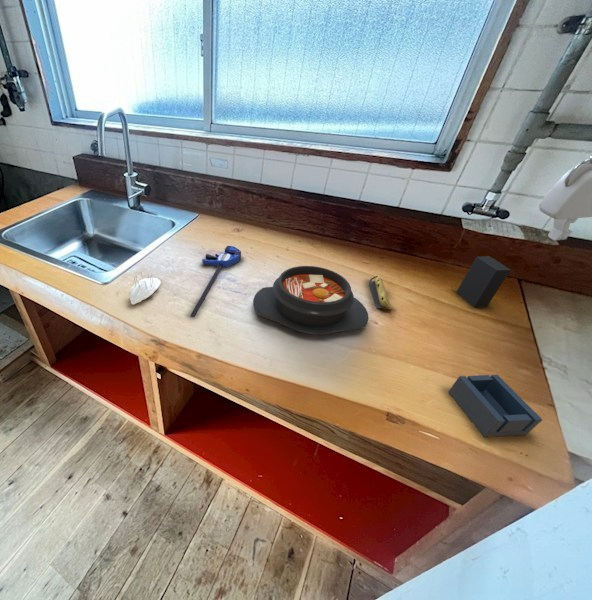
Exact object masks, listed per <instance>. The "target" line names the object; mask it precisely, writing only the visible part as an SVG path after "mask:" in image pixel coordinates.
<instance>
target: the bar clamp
mask: <svg viewBox="0 0 592 600" xmlns="http://www.w3.org/2000/svg"><path fill="white" fill-rule="evenodd" d="M241 260H242V250H240V249H239V248H237V247H235V246H234V245H227V246H226V247H225V248H224V252H220V254H217V253H215V255H211V254H208V253H206V254H205V258H202V260H201V262H202V263H201V264H203V265H209V266H216V267H217V268H216V269H215V272H214V273H213V275H212V276H211V278H210V279H209V282H208V283H207V285H206V287H205V288H204V291H202V294H201V296H200V297H199V299H198V301H197V303H196V305H195V306H194V308H193V310H192V312H191V313H190V316H191V317H195V316H196V315H197V312H198V311H199V309H200V307H201V305H202V303H203V301H204V300H205V298H206V296H207V294H208V293H209V291H210V289H211V287H212V285H213V283H214V281H215V280H216V278H217V276H218V274H219V272H220V271H221V269H222V268H224V269H225V268H226V269H227V268H228V267H231V266H232V265H235V264H237V263H238V262H240V261H241Z"/></svg>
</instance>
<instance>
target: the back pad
mask: <svg viewBox="0 0 592 600" xmlns="http://www.w3.org/2000/svg"><path fill="white" fill-rule="evenodd" d="M511 271H512V269H511V268H509V267H507V266H506V265H504V264H503V263H501V262H499V261H498V260H497V259H495V258H493V257H492V256H490V255H483V256H475V258H474V260H473V262H472V263H471V265H470V267H469V269H468V270H467V272H466V273H465V276H464V278H463V279H462V281H461V283H460V285H459V287H458V288H457V290H456V292H455V293H456V294H457V295H458V296H459V297H461V298H462V299H463V300H465V302H467V303H468V304H469V305H470V306H471V307H472V308H487V307H488V305H489V304H490V303H491V301H492V300H493V298H494V297H495V295H496V294H497V292H498V290H499V289H500V288H501V286H502V284H503V283H504V281H505V280H506V278H507V277H508V275H509V274H510V273H511Z"/></svg>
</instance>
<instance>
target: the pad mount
mask: <svg viewBox="0 0 592 600" xmlns="http://www.w3.org/2000/svg"><path fill="white" fill-rule="evenodd" d="M450 387H451V388H449V390H448V394H449V395H450V396H451V397H452V399H454V401H455V402H456V404H457V405H458V406H459V407H460V409H461V410H462V411H463V412H464V413H465V415H466V417H468V419H469V420H470V421H471V423H472V424H473V425H474V426H475V427H476V428H477V430H478V431H479V433H480V434H481V435H482V436H483V437H484V438H492V437H516V436H517V437H519V436H520V437H521V436H527V435H528V434H529V433H530V432H531V431H532V430H533V429H535V427H537V426H538V425H539V424H540V423H541V422H542V421H543V418H542V417H540V415H538V413H537V412H535V410H534V409H533V408H532V407H531V406H530V405H529V404H528V403H527V402H526V401H525V400H524V399H522V397H521V396H520V395H519V394H517V392H516V391H515V390H514V389H513V388H512V387H511V386H510V385H509V384H508V383H507V382H506V381H504V379H503V378H501V376H500V375H498V374H491V375H489V374H482V375H481V374H479V375H478V374H477V375H468V376H466V375H459V376H458V377H457V378H456V380H455V382H454V383H453V384H452V386H450Z"/></svg>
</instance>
